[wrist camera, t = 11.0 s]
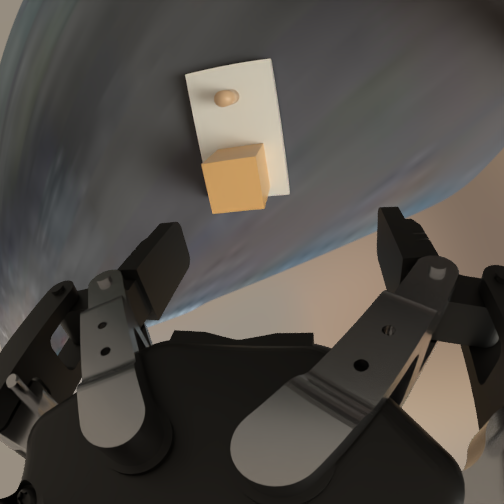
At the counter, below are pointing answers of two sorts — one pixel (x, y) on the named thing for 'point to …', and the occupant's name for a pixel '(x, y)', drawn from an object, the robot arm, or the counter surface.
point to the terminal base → (240, 114)
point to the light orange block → (237, 178)
